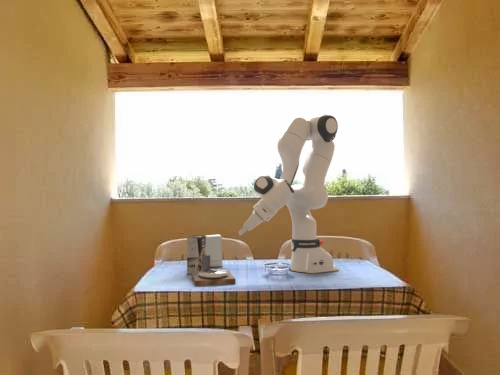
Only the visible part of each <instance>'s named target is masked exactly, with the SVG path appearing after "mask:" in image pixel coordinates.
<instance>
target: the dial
mask: <svg viewBox="0 0 500 375" xmlns="http://www.w3.org/2000/svg"><path fill="white" fill-rule="evenodd" d="M202 267H203V270H201V271H199V277H201V278H206V279H218V278H224V277H227V276H228V271H229V270H227V269H222V268H211V267H210V255H207V254H204V255H202Z"/></svg>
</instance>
